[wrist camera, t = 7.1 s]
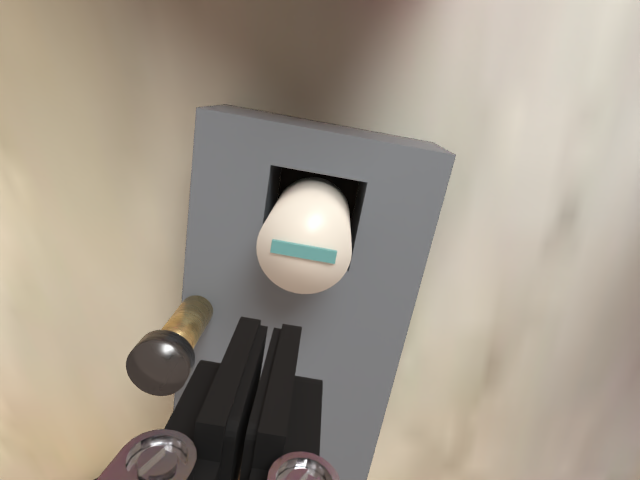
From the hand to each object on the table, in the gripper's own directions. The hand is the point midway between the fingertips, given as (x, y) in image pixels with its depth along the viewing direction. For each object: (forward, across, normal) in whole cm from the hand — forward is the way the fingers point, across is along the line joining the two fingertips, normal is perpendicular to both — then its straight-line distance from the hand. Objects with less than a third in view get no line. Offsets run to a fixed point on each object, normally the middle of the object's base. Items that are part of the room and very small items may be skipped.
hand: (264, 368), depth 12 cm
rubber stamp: (+14, +6, +7) cm, 16 cm away
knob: (+15, 0, 0) cm, 15 cm away
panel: (+20, 0, +7) cm, 21 cm away
